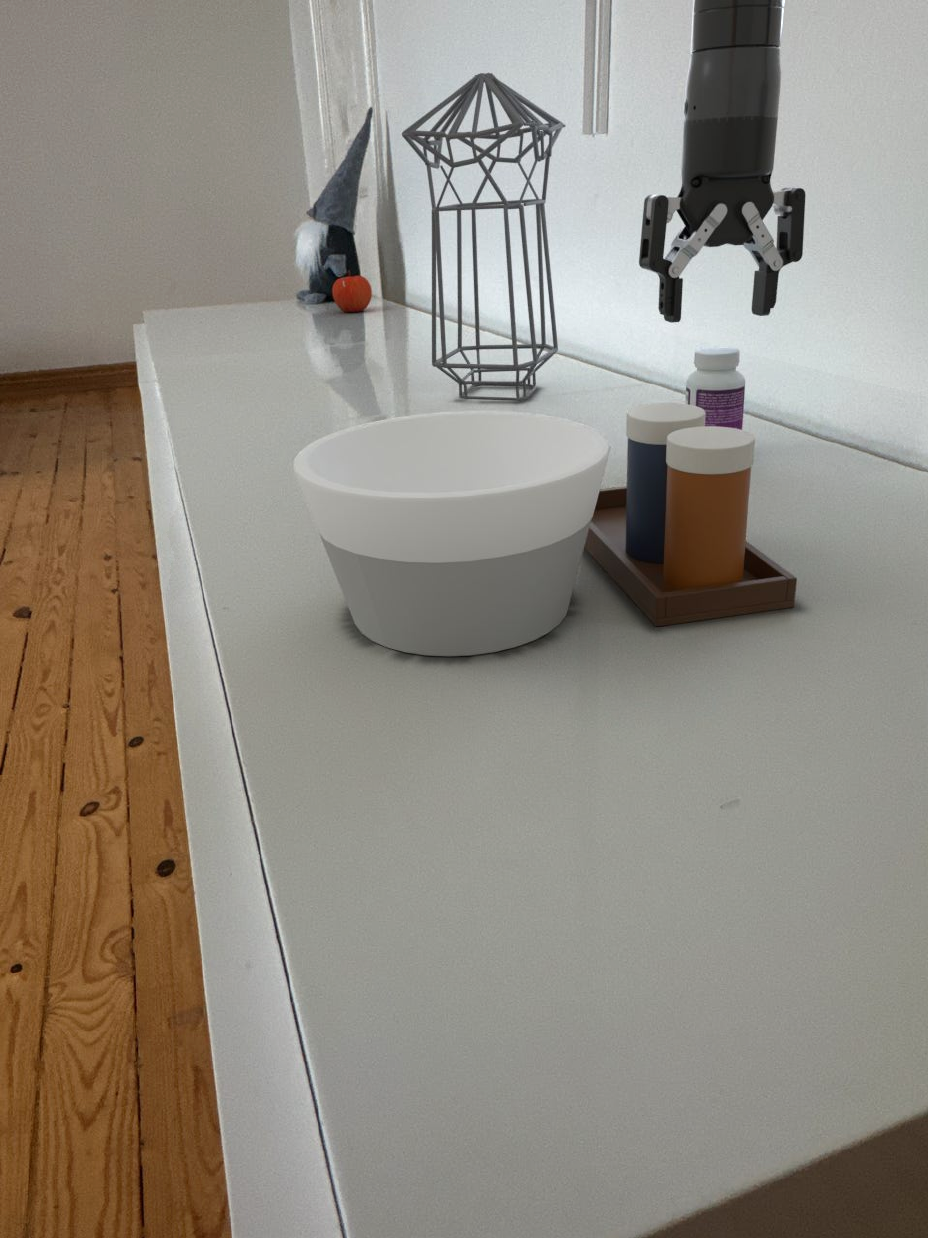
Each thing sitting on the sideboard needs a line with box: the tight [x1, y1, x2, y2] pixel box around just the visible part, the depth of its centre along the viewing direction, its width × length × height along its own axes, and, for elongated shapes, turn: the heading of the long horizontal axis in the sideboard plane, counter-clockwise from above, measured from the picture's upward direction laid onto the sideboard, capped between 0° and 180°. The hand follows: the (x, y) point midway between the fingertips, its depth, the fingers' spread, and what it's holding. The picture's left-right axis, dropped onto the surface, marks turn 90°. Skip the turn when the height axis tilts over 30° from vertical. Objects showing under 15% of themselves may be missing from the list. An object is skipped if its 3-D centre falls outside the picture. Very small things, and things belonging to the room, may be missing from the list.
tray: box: [584, 485, 798, 627], centre depth 69 cm, size 9×21×2 cm, turn 12°
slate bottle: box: [625, 402, 706, 563], centre depth 67 cm, size 5×5×10 cm
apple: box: [332, 269, 373, 313], centre depth 195 cm, size 8×8×8 cm
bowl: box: [292, 410, 611, 657], centre depth 61 cm, size 19×19×11 cm
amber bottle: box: [663, 426, 756, 592], centre depth 61 cm, size 5×5×10 cm
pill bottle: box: [684, 346, 746, 430], centre depth 90 cm, size 5×5×10 cm
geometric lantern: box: [401, 72, 566, 402], centre depth 113 cm, size 16×16×35 cm
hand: (716, 317), depth 86 cm, fingers open, 8 cm apart
